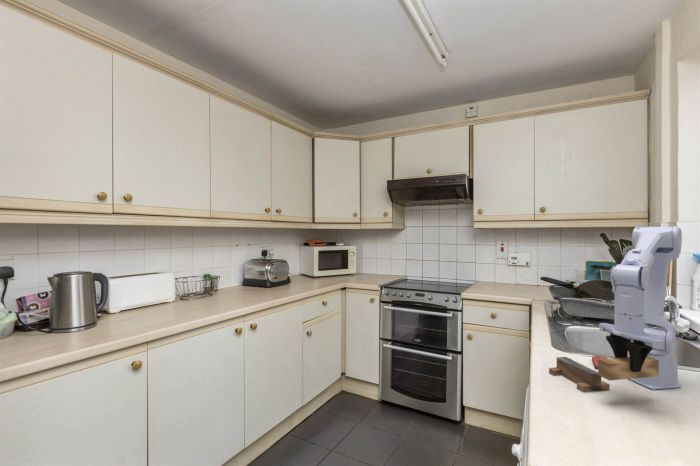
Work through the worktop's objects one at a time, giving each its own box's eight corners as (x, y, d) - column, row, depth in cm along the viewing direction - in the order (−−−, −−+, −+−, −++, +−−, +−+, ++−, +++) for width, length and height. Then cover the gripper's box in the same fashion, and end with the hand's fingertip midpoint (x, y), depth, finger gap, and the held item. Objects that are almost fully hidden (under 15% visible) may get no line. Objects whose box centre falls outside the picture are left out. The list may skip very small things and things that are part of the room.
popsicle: (597, 370, 99) (590, 354, 112) (597, 375, 99) (590, 358, 112) (620, 374, 96) (610, 357, 109) (620, 379, 96) (610, 361, 109)
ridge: (572, 371, 101) (572, 356, 101) (609, 389, 89) (609, 373, 89) (549, 372, 100) (549, 357, 100) (583, 392, 88) (583, 375, 88)
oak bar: (646, 371, 86) (646, 355, 86) (658, 376, 83) (658, 360, 83) (598, 375, 83) (598, 359, 83) (609, 380, 80) (609, 363, 80)
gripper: (589, 307, 89) (589, 358, 90) (645, 322, 75) (644, 382, 75) (612, 306, 91) (612, 356, 91) (671, 320, 76) (671, 380, 76)
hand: (628, 368), depth 83 cm, fingers closed on oak bar, 3 cm apart
